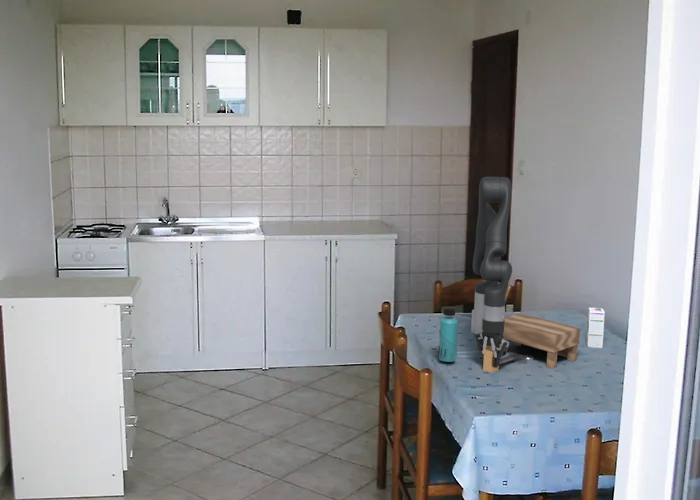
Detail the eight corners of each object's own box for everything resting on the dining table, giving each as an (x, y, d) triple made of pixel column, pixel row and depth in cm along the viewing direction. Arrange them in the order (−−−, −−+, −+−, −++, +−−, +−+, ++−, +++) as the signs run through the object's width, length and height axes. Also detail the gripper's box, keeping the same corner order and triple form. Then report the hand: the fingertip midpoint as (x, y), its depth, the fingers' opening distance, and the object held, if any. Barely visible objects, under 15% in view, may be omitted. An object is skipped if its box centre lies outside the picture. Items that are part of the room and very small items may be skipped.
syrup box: (602, 348, 298) (605, 311, 295) (586, 347, 299) (589, 310, 296) (601, 344, 303) (604, 308, 300) (585, 342, 304) (588, 306, 302)
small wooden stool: (518, 343, 302) (520, 313, 300) (577, 360, 283) (580, 328, 281) (493, 351, 291) (494, 320, 289) (552, 369, 272) (554, 336, 270)
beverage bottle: (458, 361, 279) (460, 307, 275) (454, 366, 273) (456, 311, 269) (440, 359, 281) (442, 305, 277) (436, 364, 275) (438, 309, 271)
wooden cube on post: (495, 374, 266) (496, 353, 265) (479, 368, 271) (480, 348, 270) (526, 363, 278) (527, 343, 277) (510, 358, 283) (511, 338, 282)
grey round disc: (519, 359, 284) (519, 356, 284) (524, 356, 287) (524, 353, 287) (530, 361, 281) (530, 358, 281) (535, 358, 285) (536, 356, 284)
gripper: (470, 315, 269) (468, 362, 273) (503, 323, 259) (500, 373, 262) (484, 311, 274) (481, 358, 277) (517, 320, 264) (514, 368, 267)
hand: (491, 365), depth 270 cm, fingers closed on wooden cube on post, 3 cm apart
